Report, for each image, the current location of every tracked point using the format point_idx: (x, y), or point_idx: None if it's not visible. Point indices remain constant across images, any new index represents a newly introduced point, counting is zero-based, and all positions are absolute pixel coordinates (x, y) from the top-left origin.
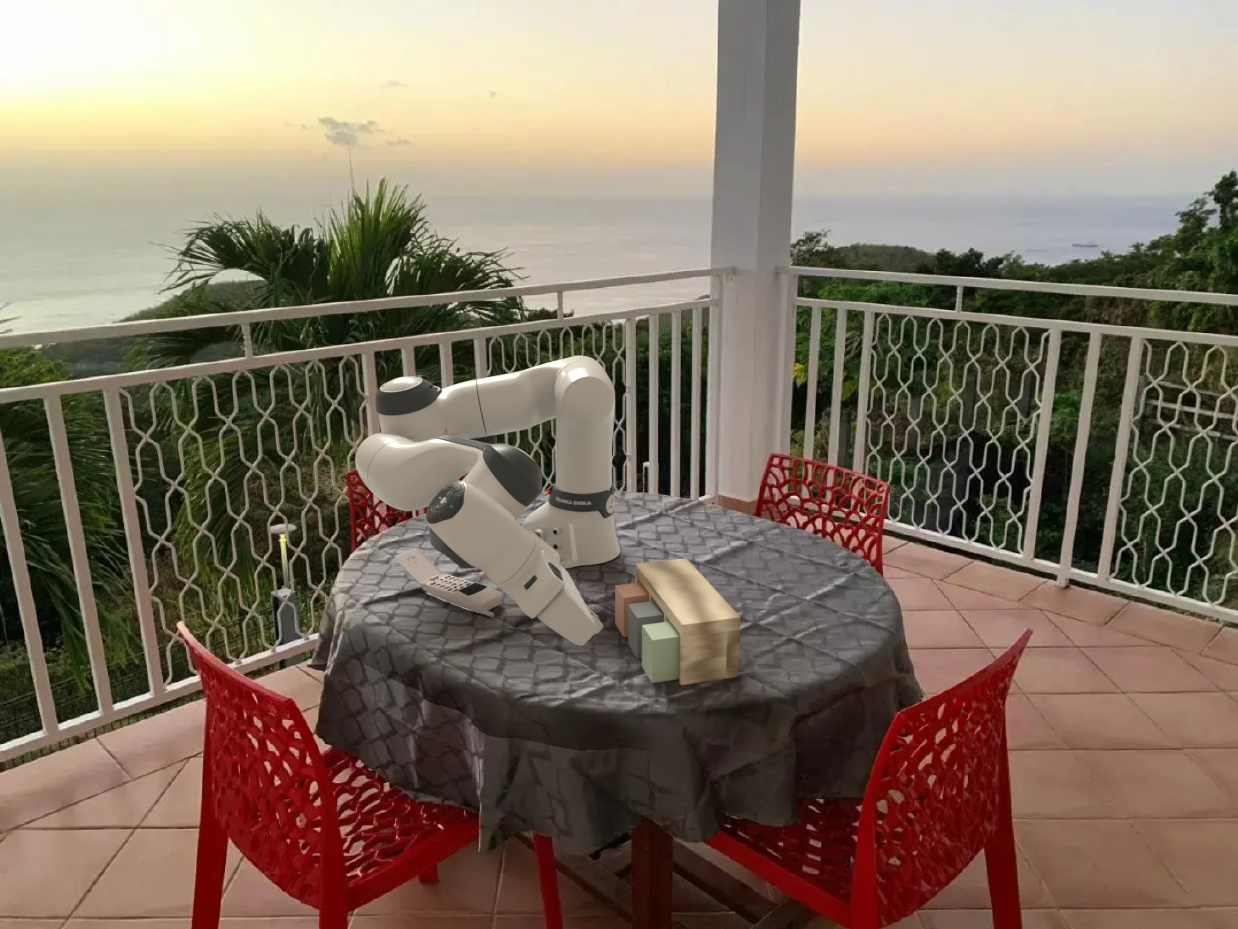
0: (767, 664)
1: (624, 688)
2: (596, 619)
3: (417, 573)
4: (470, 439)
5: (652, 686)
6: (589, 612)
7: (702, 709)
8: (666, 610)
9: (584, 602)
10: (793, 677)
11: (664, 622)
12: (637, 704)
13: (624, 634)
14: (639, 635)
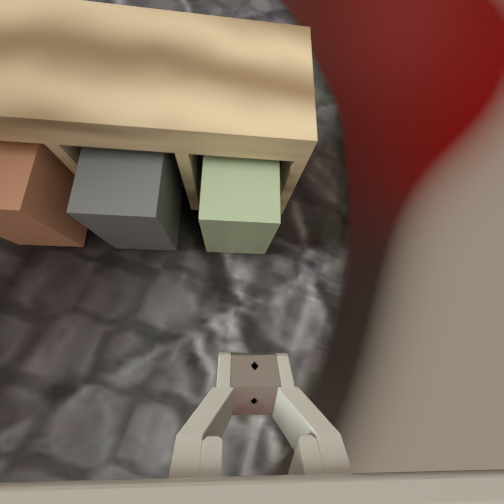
0: None
1: (260, 302)
2: (292, 382)
3: None
4: None
5: (267, 255)
6: (498, 501)
7: (348, 210)
8: (192, 143)
9: (339, 488)
10: None
11: (203, 168)
12: (314, 297)
13: (80, 243)
14: (167, 229)
